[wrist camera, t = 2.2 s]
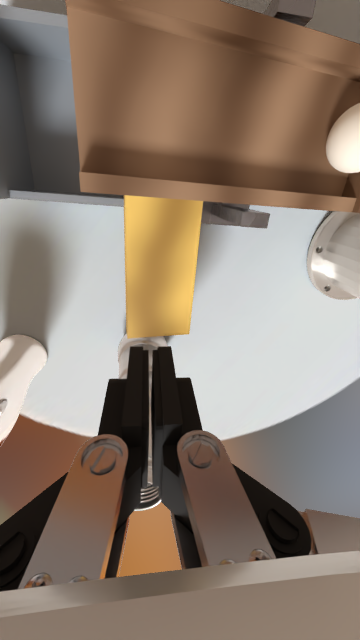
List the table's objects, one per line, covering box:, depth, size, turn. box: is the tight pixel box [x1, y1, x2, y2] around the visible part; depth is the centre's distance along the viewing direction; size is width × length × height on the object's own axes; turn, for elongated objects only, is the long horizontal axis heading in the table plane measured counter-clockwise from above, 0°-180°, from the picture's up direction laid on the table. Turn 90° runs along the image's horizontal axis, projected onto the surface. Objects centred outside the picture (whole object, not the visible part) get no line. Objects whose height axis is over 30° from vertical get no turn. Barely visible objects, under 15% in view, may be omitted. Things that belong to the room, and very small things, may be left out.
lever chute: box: [65, 0, 360, 339], centre depth 20 cm, size 21×19×6 cm
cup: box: [0, 5, 124, 207], centre depth 19 cm, size 11×11×12 cm
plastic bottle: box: [118, 333, 168, 511], centre depth 27 cm, size 6×7×20 cm
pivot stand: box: [201, 0, 316, 228], centre depth 21 cm, size 6×14×11 cm, turn 175°
